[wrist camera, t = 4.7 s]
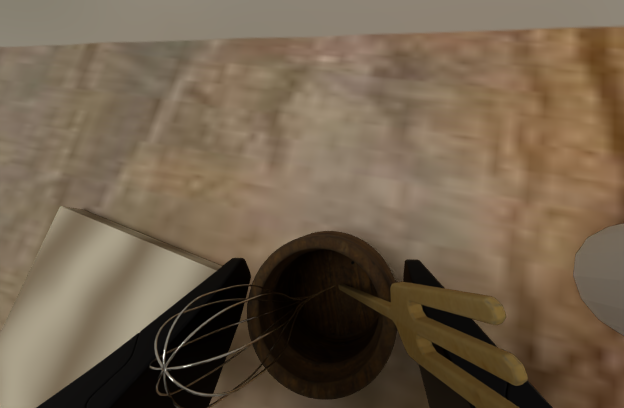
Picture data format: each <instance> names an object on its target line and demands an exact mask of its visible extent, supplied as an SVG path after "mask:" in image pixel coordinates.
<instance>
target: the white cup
mask: <svg viewBox="0 0 624 408" xmlns="http://www.w3.org/2000/svg"><path fill="white" fill-rule="evenodd" d="M573 276H574V279H575V282H576V285H577V288H578V291H579V294H580V297H581V299H582V300H583V301H584V303H585V304H586V305H587V306H588V307H589V309H590V310H591V311H592V312H593V313H594V315H595V316H596V317H597V318H598V319H599V320H600V321H601V322H603V323H605V324H606V325H608V326H609V327H611V328H612V329H614V330H615V331H617V332H618V333H620V334H622V335H623V336H624V223H623V224H619V225H614V226H610V227H607V228H605V229H603V230H601V231H599V232H597V233H596V234H594V235H592V236H590V237H588V238H587V239H586V241H585V242H584V244H583V245H582V246H581V248H580V249H579V251H578V252H577V253H576V256H575V265H574V273H573Z"/></svg>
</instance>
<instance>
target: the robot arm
mask: <svg viewBox="0 0 624 408" xmlns="http://www.w3.org/2000/svg"><path fill="white" fill-rule="evenodd" d="M250 278H251V274H250V271H249V268H248V266H247V263H246V261H245V259H244V258H232V259H231V260H230V261H228V262H227V263H226V264H225V265H223V266H222V267H221V268H219V269H218V270H217V271H216V272H214V273H213V274H212V275H211V276H209V277H208V278H207V279H206V280H204V281H203V282H202V283H200V284H199V285H198V286H197V287H195V288H194V289H193V290H192V291H190V292H189V293H188V294H187V295H185V296H184V297H183V298H182V299H180V300H179V301H178V302H176V303H175V304H174V305H173V306H171V307H170V308H169V309H168V310H166V311H165V312H164V313H163V314H161V315H160V316H159V317H158V318H156V319H155V320H154V321H152V322H151V323H150V324H149V325H147V326H146V327H145V328H144V329H142V330H141V331H140V333H137V334H136V335H135V336H133V337H132V338H131V339H130V340H128V341H127V342H126V343H124V344H123V345H122V346H121V347H119V348H118V349H117V350H115V351H114V352H113V353H111V354H110V355H109V356H108V357H106V358H105V359H103V360H102V361H101V362H99V363H98V364H97V365H95V366H94V367H92V368H91V369H90V370H88V371H87V372H86V373H84V374H83V375H81V376H80V377H79V378H77V379H76V380H74V381H73V382H71V383H70V384H69V385H67V386H66V387H64V388H63V389H62V390H60V391H59V392H57V393H56V394H55V395H53V396H52V397H50V398H49V399H48V400H46V401H45V402H43V403H42V404H40V405H39V406H38V407H36V408H177V407H175V406H174V405H173V404H172V403H171V401H170V399H169V398H168V396H160V395H158V394H157V393H156V391H155V385H156V382H157V379H158V377H159V375H160V373H161V371H156V370H152V369H150V368H149V364H150V363H151V362H152V361H153V360H154V359H155V358H156V355H155V350H154V343H155V338H156V335H157V333H158V331H159V329H160V328H161V327H162V325H163V324H164V323H165V322H166V321H167V320H169V319H170V318H171V317H173V316H174V315H176V314H178V313H181V311H182V310H183V309H184V308H185V307H186V306H187V305H188V304H189V303H190V302H192V301H193V300H194V299H196V298H197V297H199V296H201V295H204V294H207V293H209V292H213V291H216V290H220V289H223V288H227V287H231V286H236V285H244V284H249V283H250ZM404 282H408V283H414V284H420V285H426V286H432V287H438V288H444V287H443V286H442V285H441V284H440V283H439V282H438V280H437V279H436V278H435V277H434V276H433V275H432V274H431V273H430V272H429V270H428V269H427V268H426V267H425V266H424V265H423V264H422V263H421V262H420V261H419V260H409V259H407V260H406V261H405V266H404ZM248 287H249V286H240V287H235V288H230V289H226V290H223V291H219V292H216V293H213V294H209V295H207V296H204V297H202V298H200V299H198V300H196V301H195V302H194V303H192V304H191V305H190V306H189V307H188V308H187V309H186V310H189V309H192V308H195V307H199V306H202V305H205V304H208V303H212V302H216V301H221V300H226V299H238V298H246V295H247V291H248ZM444 289H445V288H444ZM242 301H244V300H230V301H224V302H219V303H215V304H211V305H208V306H204V307H201V308H198V309H195V310H192V311H189V312H186V313H184V314H182V315H181V316H180V317H179V319H178V320H177V322H176V324H175V326H174V328H173V330H172V332H171V335H170V338H169V341H168V345H167V350H166V352H167V351H169V350H171V349H174V348H176V347H178V346H180V345H181V343H182V342H183V341H184V340H185V339H186V338H187V337H188V336H189V335H190V334H191V333H192V332H193V331H195V330H196V329H197V328H198V327H199V326H200V325H202V324H203V323H204V322H206V321H207V320H208V319H210V318H211V317H212V316H214V315H215V314H217V313H218V312H220V311H222V310H223V309H225V308H227V307H229V306H231V305H234V304H236V303H239V302H242ZM243 306H244V303H242V304H239V305H237V306H234V307H232V308H230V309H228V310H226V311H224V312H223V313H221V314H219V315H218V316H216V317H215V318H213V319H212V320H211V321H209V322H208V323H207V324H205V325H204V326H203V327H202V328H200V329H199V330H198V331H197V332H196V333H195V334H194V335H193V336H192V337H191V338H190V339H189V340H187V342H190V341H192V340H194V339H196V338H199V337H201V336H203V335H206V334H208V333H211V332H213V331H216V330H218V329H221V328H223V327H226V326H229V325H232V324H234V323H237V322H239V321H240V318H241V314H242V310H243ZM421 306H422V309H423V312H424V313H425V315H426V316H427V317H428V318H430V319H433V320H435V321H437V322H440V323H442V324H444V325H447V326H449V327H451V328H453V329H456V330H458V331H460V332H463V333H465V334H467V335H470V336H472V337H474V338H477V339H479V340H481V341H484V342H486V343H488V344H490V345H493V346H495V347H497V346H496V345H495V344H494V343H493V342H492V341H491V339H490V338H489V337H488V336H487V335H486V334H485V333H484V332H483V331H482V329H481V328H480V327H479V326H478V325H477V324H476V323H475V322H474V321H473V319H471V318H467V317H464V316H460V315H457V314H453V313H450V312H446V311H442V310H439V309H435V308H432V307H428V306H424V305H421ZM186 310H185V311H186ZM177 317H178V316H177ZM177 317H175V318H173V319H172V320H170V321H169V322H168V323H167V324H166V325H165V326H164V327H163V329H162V330H161V332H160V334H159V337H158V341H157V350H158V355H159V356H160V355H162V354H163V352H164V346H165V342H166V339H167V336H168V333H169V331H170V329H171V326H172V324H173V323H174V321H175V319H176V318H177ZM237 327H238V324H236V325H233V326H231V327H228V328H225V329H223V330H220V331H217V332H215V333H213V334H210V335H208V336H205V337H203V338H201V339H199V340H196V341H194V342H192V343H189V344H187V345H185V346H183V347H181V348H180V349H179V351H178V352H177V353H176V354H175V356H174V357H173V358H172V360H171V361H170V362H169V364H168V366H167V367H176V366H183V365H188V364H192V363H196V362H200V361H204V360H207V359H210V358H214V357H217V356H220V355H222V354H225V353H228V351H229V349H230V346H231V343H232V340H233V338H234V335H235V332H236V329H237ZM187 342H186V343H187ZM432 345H433V347H434V348H435V350H436V352H437V353H439V354H440V355H442V356H443V357H445V358H446V359H448V360H449V361H451V362H452V363H454V364H455V365H457V366H458V367H460V368H461V369H463V370H464V371H466V372H467V373H469V374H470V375H472V376H473V377H475V378H476V379H478V380H479V381H481V382H482V383H483V384H485V385H486V386H488V387H489V388H491V389H492V390H494V391H495V392H497V393H498V394H500V395H501V396H503V397H504V398H506V399H507V400H509V401H510V402H512V403H513V404H515V405H516V406H518V407H519V408H553V407H552V406H551V405H550V404H549V403H548V402H547V401H546V400H545V399H544V398H543V397H542V396H541V395H540V393H539V392H538V391H537V390H536V389H535V388H534V387H533V386H532V385H531V384H530V383H529V382H528V381H526V382H525V383H524V384H522V385H519V386H515V385H512V384H510V383H508V382H507V381H505V380H503V379H501V378H499V377H497V376H495V375H493V374H491V373H490V372H488V371H486V370H484V369H482V368H480V367H478V366H476V365H474V364H473V363H471V362H469V361H467V360H465V359H463V358H461V357H459V356H457V355H456V354H454V353H452V352H450V351H448V350H446V349H444V348H442V347H440V346H439V345H437V344H435V343H433V342H432ZM497 348H498V347H497ZM174 352H175V350H174V351H172V352H170V353H168V354H166V358H165V364H166V363H167V361H168V360H169V358H170V357H171V355H172V354H173V353H174ZM226 357H227V356H224V357H222V358H219V359H216V360H213V361H210V362H207V363H203V364H200V365H196V366H192V367H187V368H182V369H176V370H167V371H168V373H169V374H170V375H171V376H172V377H173V378H174V379H175V380H176V381H177V382H178V383H180V384H181V385H183V386H186V385H188V384H190V383H191V382H193V381H195V380H196V379H198V378H200V377H202V376H203V375H205V374H207V373H208V372H210V371H212V370H213V369H215V368H217V367H218V366H220V365H221V364H223V363H224V362H225V360H226ZM160 360H161V362H162V364H163V356H162V357H161V358H160ZM152 367H157V368H161V367H160V365H159V363H158V361H157V360H156V361H155V362H154V363H153V364H152ZM167 367H166V368H167ZM419 367H420V371H421V375H422V379H423V383H424V387H425V391H426V395H427V399H428V403H429V407H430V408H476V407H475V406H474V405H472V404H471V403H470V402H468V401H467V400H466V399H464V398H463V397H462V396H460V395H459V394H458V393H456V392H455V391H454V390H453V389H451V388H450V387H449V386H447V385H446V384H445V383H443V382H442V381H441V380H439V379H438V378H437V377H435V376H434V375H433V374H431V373H430V372H429V371H428V370H426V369H425V368H424V367H422V366H421V365H420V364H419ZM222 368H223V366H221V367H220V368H218V369H217V370H215V371H214V372H212V373H210V374H209V375H207V376H205V377H204V378H202V379H200V380H199V381H197V382H195V383H194V384H192V385H190V386H188V387H187V388H188V389H190V390H193V391H196V392H200V393H207V394H213V393H214V390H215V387H216V385H217V382H218V379H219V376H220V373H221V371H222ZM166 381H167V386H168V389H169V392H173V391H176V390H178V389H180V387H178V386H177V385H175V384H174V383H173V382H172V381H171V380H170V379H169V378H168V377H167V375H166ZM158 390H159V392H160V393H166V391H165V387H164V382H163V374H162V376H161V378H160V381H159V384H158ZM171 396H172V398H173V400H174V401H175V402H176V403H177V404H178V405H180V406H181V407H183V408H205V407H207V406H209V404H210V401H211V398H212V397H205V396H199V395H195V394H192V393H189V392H187V391H185V390H181V391H179V392H177V393H174V394H172V395H171Z"/></svg>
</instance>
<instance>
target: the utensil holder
mask: <svg viewBox="0 0 624 408" xmlns="http://www.w3.org/2000/svg"><path fill="white" fill-rule="evenodd" d="M240 286H251V289H250V293H249V298H248V299H245V298H238V299H226V300H221V301H216V302H212V303H208V304H205V305H202V306H199V307H195V308H192V309H189V310H186V309H187V308H188V307H189V306H190V305H191V304H192V303H194V302H195V301H196V300H198V299H200V298H202V297H204V296H207V295H209V294H213V293H216V292H219V291H223V290H226V289H230V288H235V287H240ZM230 300H244V301H242V302H239V303H236V304H234V305H231V306H229V307H227V308H225V309H223V310H222V311H220V312H218V313H217V314H215V315H214V316H212V317H211V318H210V319H208V320H207V321H206V322H204V323H203V324H202V325H200V326H199V327H198V328H197V329H196V330H195V331H193V332H192V333H191V334H190V335H189V336H188V337H187V338H186V339H185V340H184V341H183V342H182V343H181V345H180V346H178V347H176V348H174V349H171V350H169V351H167V352H166V350H167V345H168V341H169V338H170V335H171V332H172V330H173V328H174V326H175V324H176V322H177V320H178V319H179V317H180V316H181V315H182V314H184V313H186V312H189V311H192V310H195V309H198V308H201V307H204V306H208V305H211V304H215V303H219V302H224V301H230ZM247 301H248V304H247V319H246V320H243V321H240V322H237V323H234V324H232V325H229V326H226V327H223V328H221V329H218V330H216V331H213V332H211V333H208V334H206V335H203V336H201V337H199V338H196V339H194V340H192V341H190V342H187V340H189V339H190V338H191V337H192V336H193V335H194V334H195V333H196V332H197V331H198V330H199V329H200V328H202V327H203V326H204V325H205V324H207V323H208V322H209V321H211V320H212V319H213V318H215V317H216V316H218V315H219V314H221V313H223V312H224V311H226V310H228V309H230V308H232V307H234V306H237V305H239V304H242V303H245V302H247ZM421 305H424V306H428V307H432V308H435V309H439V310H442V311H446V312H450V313H453V314H457V315H460V316H464V317H467V318H471V319H475V320H478V321H482V322H485V323H489V324H493V325H498V324H501V323H503V321H504V320H505V318H506V314H505V311H504V308H503V306H502V304H501V303H499V302H498V301H497V300H496V299H495V298H494V297H492V296H486V295H480V294H474V293H468V292H462V291H456V290H450V289H444V288H438V287H432V286H426V285H420V284H414V283H408V282H398V283H396V282H395V279H394V277H393V274H392V272H391V270H390V268H389V267H388V265H387V263H386V262H385V261H384V259H383V258H382V257H381V255H380V254H379V253H378V252H377V251H376V250H375V249H374V248H372V247H371V246H370V245H369V244H367V243H366V242H364V241H363V240H361V239H359V238H357V237H355V236H352V235H350V234H346V233H342V232H336V231H322V232H315V233H311V234H308V235H305V236H303V237H300V238H298V239H295V240H293V241H291V242H288V243H287V244H285V245H283V246H282V247H280V248H279V249H277V250H276V251H275V252H274V253H272V254H271V255H270V256H269V257H268V259H267V260H266V261H265V262H264V263H263V265H262V266H261V268H260V269H259V271H258V272H257V274H256V276H255V278H254V281H253V283H252V285H251V284H244V285H236V286H231V287H227V288H223V289H220V290H216V291H213V292H209V293H207V294H204V295H201V296H199V297H197V298H196V299H194V300H193V301H192V302H190V303H189V304H188V305H187V306H186V307H185V308H184V309H183V310H182V311H181V313H178V314H176V315H174V316H173V317H171V318H170V319H169V320H167V321H166V322H165V323H164V324H163V325H162V327H161V328H160V329H159V331H158V333H157V335H156V338H155V343H154V350H155V355H156V358H155V359H154V360H153V361H152V362H151V363H150V364H149V368H150V369H152V370H156V371H161V373H160V375H159V377H158V379H157V382H156V385H155V391H156V393H157V394H158V395H160V396H168V398H169V399H170V401H171V403H172V404H173V405H174V406H175V407H177V408H183V407H181V406H180V405H178V404H177V403H176V402H175V401H174V400H173V398H172V396H171V395H172V394H174V393H177V392H179V391H181V390H185V391H187V392H189V393H192V394H195V395H199V396H205V397H217V396H223V397H222V398H220V399H219V400H217V401H216V402H214V403H212V404H211V405H209V406H207V407H205V408H210V407H212V406H214V405H215V404H217V403H218V402H220V401H221V400H222V399H224V398H225V397H227V396H228V395H229V394H231V393H234V392H236V391H238V390H240V389H241V388H243V387H244V386H246V385H247V384H249V383H250V382H251V381H253V380H254V379H255V378H257V377H258V376H259V375H261V374H262V373H263V372H265V371H266V370H267V371H268V372H269V373H270V374H271V375H272V376H273V377H274V378H275V379H276V380H277V381H278V382H279V383H281V384H282V385H283V386H285V387H286V388H288V389H290V390H291V391H293V392H295V393H297V394H300V395H303V396H306V397H309V398H315V399H337V398H342V397H345V396H348V395H351V394H353V393H355V392H357V391H359V390H361V389H362V388H364V387H365V386H367V385H368V384H369V383H371V382H372V381H373V380H374V379H375V378H376V377H377V375H378V374H379V373H380V372H381V370H382V369H383V368H384V366H385V364H386V363H387V361H388V359H389V357H390V354H391V352H392V349H393V346H394V342H395V339H396V334H397V330H398V332H399V335H400V337H401V340H402V342H403V345H404V347H405V350H406V351H407V353H408V355H409V356H410V357H411V358H412V359H413V360H415V361H416V362H417V363H418V364H420V365H421V366H422V367H424V368H425V369H426V370H428V371H429V372H430V373H431V374H433V375H434V376H435V377H437V378H438V379H439V380H441V381H442V382H443V383H445V384H446V385H447V386H449V387H450V388H451V389H453V390H454V391H455V392H456V393H458V394H459V395H460V396H462V397H463V398H464V399H466V400H467V401H468V402H470V403H471V404H472V405H474V406H475V407H476V408H519V407H518V406H516V405H515V404H513V403H512V402H510V401H509V400H507V399H506V398H504V397H503V396H501V395H500V394H498V393H497V392H495V391H494V390H492V389H491V388H489V387H488V386H486V385H485V384H483V383H482V382H481V381H479V380H478V379H476V378H475V377H473V376H472V375H470V374H469V373H467V372H466V371H464V370H463V369H461V368H460V367H458V366H457V365H455V364H454V363H452V362H451V361H449V360H448V359H446V358H445V357H443V356H442V355H440V354H439V353H437V352H436V350H435V348H434V347H433V345H432V342H433V343H435V344H437V345H439V346H440V347H442V348H444V349H446V350H448V351H450V352H452V353H454V354H456V355H457V356H459V357H461V358H463V359H465V360H467V361H469V362H471V363H473V364H474V365H476V366H478V367H480V368H482V369H484V370H486V371H488V372H490V373H491V374H493V375H495V376H497V377H499V378H501V379H503V380H505V381H507V382H508V383H510V384H512V385H515V386H519V385H522V384H524V383H525V382H526V381H527V380H528V376H527V373H526V371H525V368H524V366H523V364H522V363H521V362H520V361H519V360H518V359H517V358H516V356H515V355H513V354H511V353H509V352H507V351H504V350H502V349H500V348H497V347H495V346H493V345H490V344H488V343H486V342H484V341H481V340H479V339H477V338H474V337H472V336H470V335H467V334H465V333H463V332H460V331H458V330H456V329H453V328H451V327H449V326H447V325H444V324H442V323H440V322H437V321H435V320H433V319H430V318H428V317H427V316H426V315H425V313H424V312H423V309H422V306H421ZM185 310H186V311H185ZM177 316H178V317H177ZM175 317H177V318H176V319H175V321H174V323H173V324H172V326H171V329H170V331H169V333H168V336H167V339H166V342H165V346H164V352H163V354H162V355H160V356H159V355H158V350H157V341H158V337H159V334H160V332H161V330H162V329H163V327H164V326H165V325H166V324H167V323H168V322H169V321H170V320H172V319H173V318H175ZM245 321H247V323H248V330H249V334H250V338H251V342H250V343H248V344H246V345H244V346H242V347H240V348H238V349H235V350H233V351H230V352H228V353H225V354H222V355H220V356H217V357H214V358H210V359H207V360H204V361H200V362H196V363H192V364H188V365H183V366H176V367H167V366H168V364H169V362H170V361H171V360H172V358H173V357H174V356H175V354H176V353H177V352H178V351H179V349H180V348H181V347H183V346H185V345H187V344H189V343H192V342H194V341H196V340H199V339H201V338H203V337H205V336H208V335H210V334H213V333H215V332H217V331H220V330H223V329H225V328H228V327H231V326H233V325H236V324H239V323H242V322H245ZM186 342H187V343H186ZM251 344H253V347H254V349H255V352H256V354H257V356H258V358H259V359H260V361H261V364H260V366H259V367H258V368H257V369H256V370H255V371H254V372H253V373H252V374H251V375H250V376H249V377H248V378H247V379H246V380H244V381H243V382H242V383H241V384H239V385H238V386H237V387H235V388H234V389H233V390H231V391H229V392H224V393H217V394H207V393H200V392H196V391H193V390H190V389H188V388H187V387H188V386H190V385H192V384H194V383H195V382H197V381H199V380H200V379H202V378H204V377H205V376H207V375H209V374H210V373H212V372H214V371H215V370H217V369H218V368H220V367H221V366H223V365H224V364H226V363H227V362H229V361H230V360H232V359H233V358H235V357H236V356H237V355H239V354H240V353H241V352H242V351H244V350H245V349H246V348H247V347H249V346H250V345H251ZM243 348H244V349H243ZM241 349H243V350H241ZM174 350H175V352H174V353H173V354H172V355H171V357H170V358H169V360H168V361H167V363H166V364H165V358H166V354H168V353H170V352H172V351H174ZM239 350H241V351H240V352H239V353H237V354H236V355H235V356H233V357H232V358H230V359H229V360H227V361H226V362H224V363H223V364H221V365H220V366H218V367H217V368H215V369H213V370H212V371H210V372H208V373H207V374H205V375H203V376H202V377H200V378H198V379H196V380H195V381H193V382H191V383H190V384H188V385H186V386H183V385H181V384H180V383H178V382H177V381H176V380H175V379H174V378H173V377H172V376H171V375H170V374H169V373H168V371H167V370H176V369H182V368H187V367H192V366H196V365H200V364H203V363H207V362H210V361H213V360H216V359H219V358H222V357H224V356H227V355H230V354H232V353H235V352H237V351H239ZM162 356H163V364H162V362H161V360H160V358H161V357H162ZM156 360H157V361H158V363H159V365H160V367H161V368H157V367H152V364H153V363H154V362H155V361H156ZM262 365H263V366H264V367H265V369H264V370H263V371H261V372H260V373H259V374H257V375H256V376H254V377H253V378H252V379H250V378H251V377H252V376H253V375H254V374H255V373H256V372H257V370H258V369H259V368H260V367H261V366H262ZM166 367H167V368H166ZM162 374H163V382H164V387H165V391H166V393H160V392H159V390H158V384H159V381H160V378H161V376H162ZM166 375H167V377H168V378H169V379H170V380H171V381H172V382H173V383H174V384H175V385H177V386H178V387H180V389H178V390H176V391H173V392H169V389H168V386H167V381H166ZM248 379H250V380H249V381H248V382H246V381H247V380H248ZM245 382H246V383H245ZM244 383H245V384H244Z"/></svg>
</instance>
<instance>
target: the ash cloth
mask: <svg viewBox="0 0 624 408" xmlns="http://www.w3.org/2000/svg"><path fill="white" fill-rule="evenodd" d="M221 267H222V266H221V265H218V264H216V263H213V262H211V261H208V260H206V259H203V258H201V257H199V256H196V255H194V254H191V253H189V252H186V251H184V250H181V249H179V248H176V247H174V246H171V245H169V244H166V243H164V242H161V241H159V240H157V239H154V238H152V237H149V236H147V235H144V234H142V233H139V232H137V231H134V230H132V229H129V228H127V227H124V226H122V225H119V224H117V223H115V222H112V221H110V220H107V219H105V218H102V217H100V216H97V215H95V214H92V213H90V212H87V211H85V210H82V209H76V208H70V207H64V206H60V208H59V210H58V212H57V214H56V216H55V219H54V221H53V223H52V225H51V227H50V229H49V231H48V233H47V235H46V237H45V240H44V242H43V244H42V246H41V248H40V250H39V252H38V254H37V256H36V258H35V261H34V263H33V265H32V267H31V269H30V271H29V273H28V275H27V277H26V279H25V282H24V284H23V286H22V288H21V290H20V292H19V294H18V296H17V298H16V300H15V302H14V305H13V307H12V309H11V311H10V313H9V315H8V317H7V319H6V321H5V323H4V326H3V328H2V330H1V332H0V408H36V407H38V406H39V405H40V404H42V403H43V402H45V401H46V400H48V399H49V398H50V397H52V396H53V395H55V394H56V393H57V392H59V391H60V390H62V389H63V388H64V387H66V386H67V385H69V384H70V383H71V382H73V381H74V380H76V379H77V378H79V377H80V376H81V375H83V374H84V373H86V372H87V371H88V370H90V369H91V368H92V367H94V366H95V365H97V364H98V363H99V362H101V361H102V360H103V359H105V358H106V357H108V356H109V355H110V354H111V353H113V352H114V351H115V350H117V349H118V348H119V347H121V346H122V345H123V344H124V343H126V342H127V341H128V340H130V339H131V338H132V337H133V336H135V335H136V334H137V333H140V331H141V330H142V329H144V328H145V327H146V326H147V325H149V324H150V323H151V322H152V321H154V320H155V319H156V318H158V317H159V316H160V315H161V314H163V313H164V312H165V311H166V310H168V309H169V308H170V307H171V306H173V305H174V304H175V303H176V302H178V301H179V300H180V299H182V298H183V297H184V296H185V295H187V294H188V293H189V292H190V291H192V290H193V289H194V288H195V287H197V286H198V285H199V284H200V283H202V282H203V281H204V280H206V279H207V278H208V277H209V276H211V275H212V274H213V273H214V272H216V271H217V270H218V269H219V268H221Z"/></svg>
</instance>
